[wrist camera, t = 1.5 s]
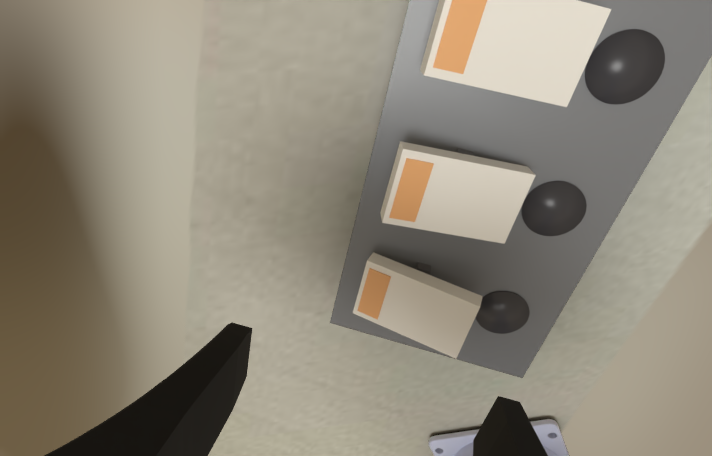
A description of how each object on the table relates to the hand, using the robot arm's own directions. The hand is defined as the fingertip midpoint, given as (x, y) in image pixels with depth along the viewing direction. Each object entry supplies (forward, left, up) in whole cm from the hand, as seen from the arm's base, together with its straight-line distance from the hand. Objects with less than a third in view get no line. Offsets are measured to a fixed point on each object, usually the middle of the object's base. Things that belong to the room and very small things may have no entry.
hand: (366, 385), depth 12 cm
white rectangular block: (-2, 0, -7) cm, 7 cm away
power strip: (+4, -7, -10) cm, 13 cm away
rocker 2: (+2, -4, -7) cm, 8 cm away
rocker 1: (+6, -7, -7) cm, 11 cm away
